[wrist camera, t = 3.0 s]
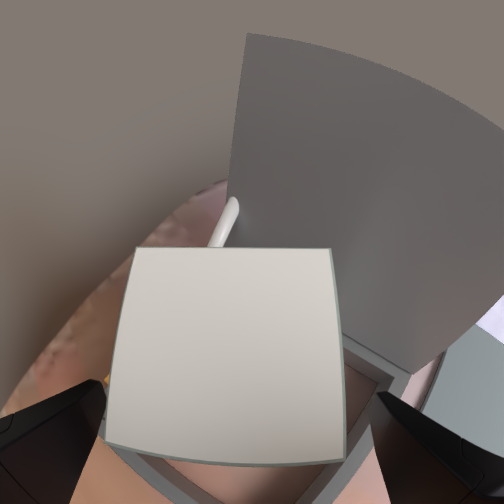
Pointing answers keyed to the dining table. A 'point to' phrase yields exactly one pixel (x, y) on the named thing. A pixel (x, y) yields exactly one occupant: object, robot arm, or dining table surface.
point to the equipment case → (362, 216)
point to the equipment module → (229, 358)
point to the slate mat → (471, 390)
